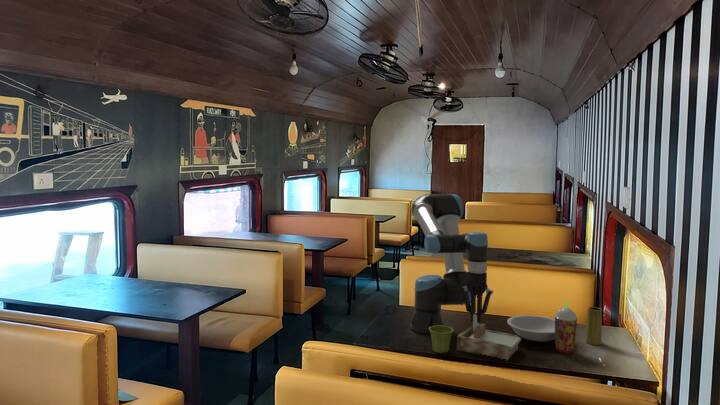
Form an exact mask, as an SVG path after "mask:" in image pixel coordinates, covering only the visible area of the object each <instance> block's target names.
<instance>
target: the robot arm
mask: <svg viewBox="0 0 720 405" xmlns="http://www.w3.org/2000/svg"><path fill="white" fill-rule="evenodd" d="M463 204H464V203H463V201H462V198H461V197H460V196H459V195H458V194H455V193H454V194H452V193H439V194H438V193H426V194H423V195H421V196H418V198H416V199H415V201H413V203H412V206H411V215H412V217H413V219H414V220H415V221H416V222H418V224H419V226H420V228H421V230H422V232H423V234H424V236H425V237H424V244H423V245H424V249H425V252H426V253H428V254H443V259H444V268H445V273H444V274H443V276H441V275H440V274H426V275H423V276H419V277H418V278H416V279H415V282H414V312H413V315H412V317H411V320H410V324H409V326H410V330H411V331H414V332H415V333H421V334H429V335H431V333H430V330H429V327H431V326H436V325H441V326H446V324H445V320H444V316H443V314H442V306H464V305H465V306H464V307H465V310H466V312H468V313H469V314H470V321H471V323H472V327H473V331H474V329H475V328H476V327H477V326H479V325H480V324H481V322H482V315H484V314H486V313H487V310H488V307H489V303H490V300H491V296H492V295H493V293H494V290H492V289H490V288H489V287H488V286H489V285H488V282H487V280H488V279H487V278H488V276H487V275H488V274H487V271H488V245H489V241H488V239H489V238H488V234H487V233H486V232H483V231H482V232H481V231H472V232H471V231H470V232H469V233H467V232H466V233H461V234H460V229H459V222H460V221H461V218H463V215H464V205H463ZM464 253H465V254H467V270H466V269H465V263H464V261H465V260H464ZM442 277H443V278H442ZM484 293H485V297H484V301H483V296H484Z"/></svg>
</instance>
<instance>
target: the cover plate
mask: <svg viewBox="0 0 720 405" xmlns="http://www.w3.org/2000/svg"><path fill="white" fill-rule="evenodd" d="M485 330H486V323H481V322H480V323H479V326H477V327H476V328H475V329H474V334H473V335H471V336H470V337H469V338H473V339H478V340H483V341H489V342H494V343H499V344H504V345H508V349H509V350H512V349H513V348H514V347H515V346H516V345H517V344H518V345H519V343H520V342H522V337H520V336H518V337H513V336H508V335H503V334H497V333H492V332H487V331H485Z"/></svg>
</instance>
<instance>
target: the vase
mask: <svg viewBox="0 0 720 405" xmlns="http://www.w3.org/2000/svg"><path fill="white" fill-rule="evenodd" d="M602 313H603V310H602V308H601V307H596V306H590V307H588V308H587V316H586V317H587V321H586V332H585V335H586V337H585V342H586V343H587V344H589V345H591V346H592V345H593V346H600V345H602V343H603V341H602V330H603V329H602V324H603V323H602V319H603V318H602V317H603V314H602Z"/></svg>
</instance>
